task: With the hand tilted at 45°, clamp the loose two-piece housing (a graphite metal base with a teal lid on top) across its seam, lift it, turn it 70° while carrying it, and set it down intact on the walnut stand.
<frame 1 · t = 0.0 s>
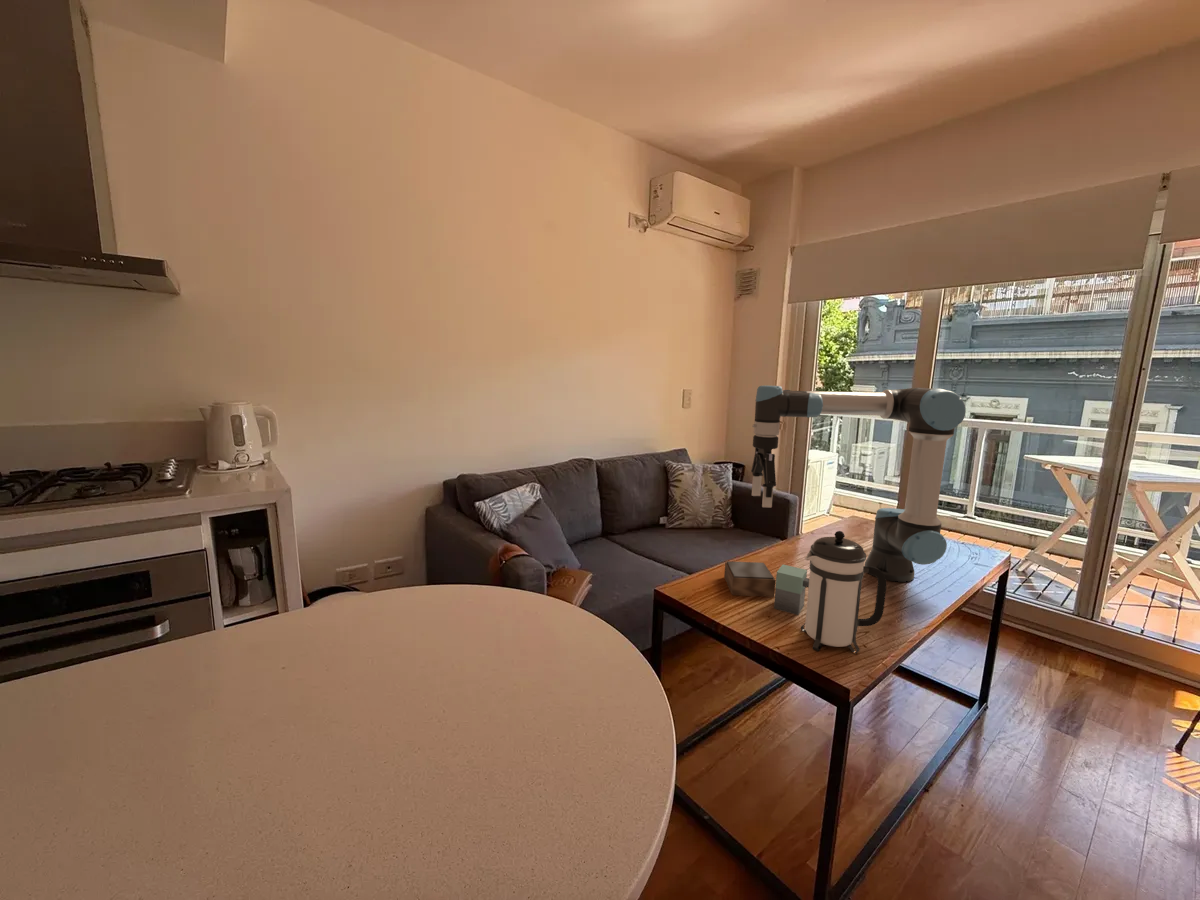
hand: (761, 501, 160), 28 cm above the table, tool pointing down, fingers open, 13 cm apart
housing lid: (790, 586, 148), point 6 cm above the table, touching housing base
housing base: (788, 607, 149), on the table, touching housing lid
walnut stand: (748, 586, 162), on the table
coffee press: (833, 641, 131), on the table
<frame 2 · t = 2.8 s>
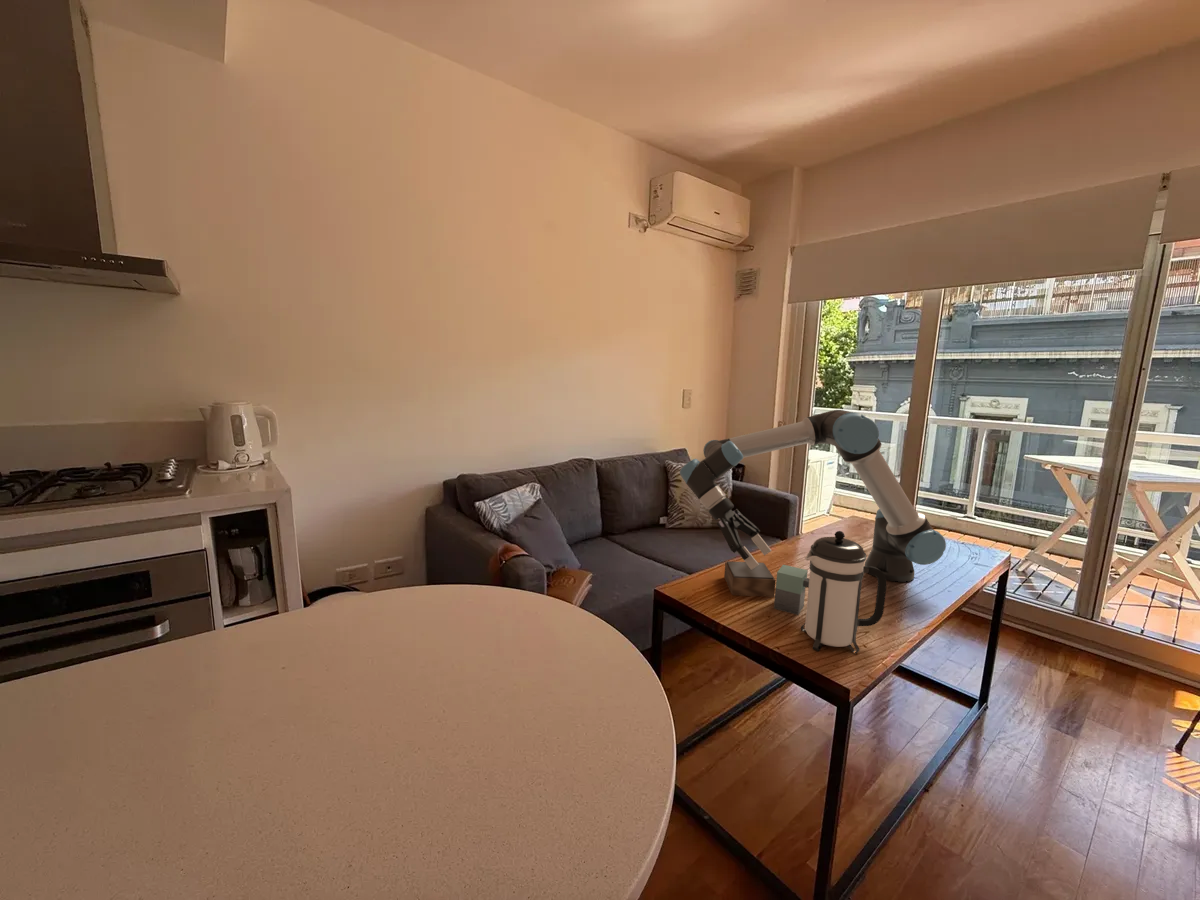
hand: (761, 559, 151), 13 cm above the table, tool tilted 45°, fingers open, 13 cm apart
nothing on the table moved.
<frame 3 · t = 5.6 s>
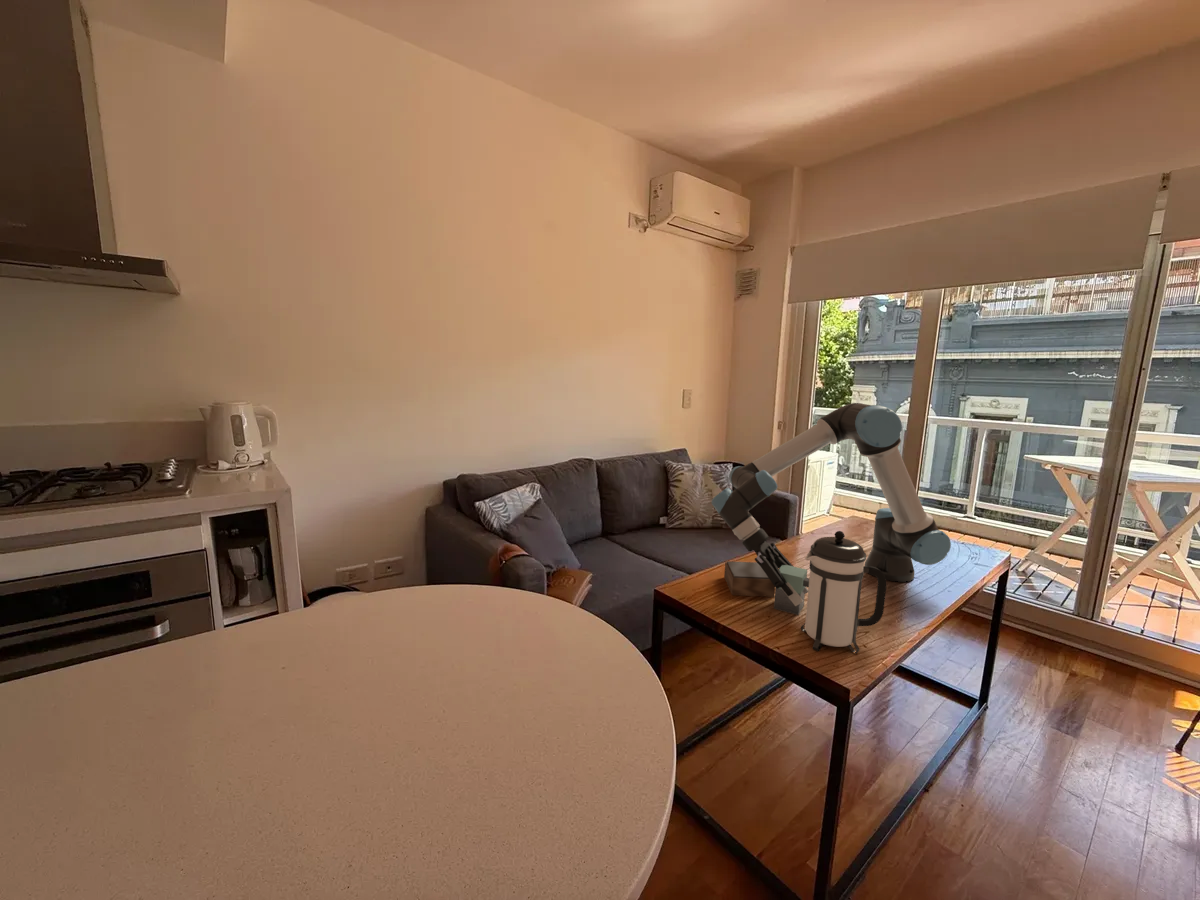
hand: (802, 598, 146), 4 cm above the table, tool tilted 45°, fingers closed on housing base, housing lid, 7 cm apart
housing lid: (790, 586, 148), point 6 cm above the table, touching gripper, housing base
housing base: (788, 607, 149), on the table, touching gripper, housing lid
everything else where it was.
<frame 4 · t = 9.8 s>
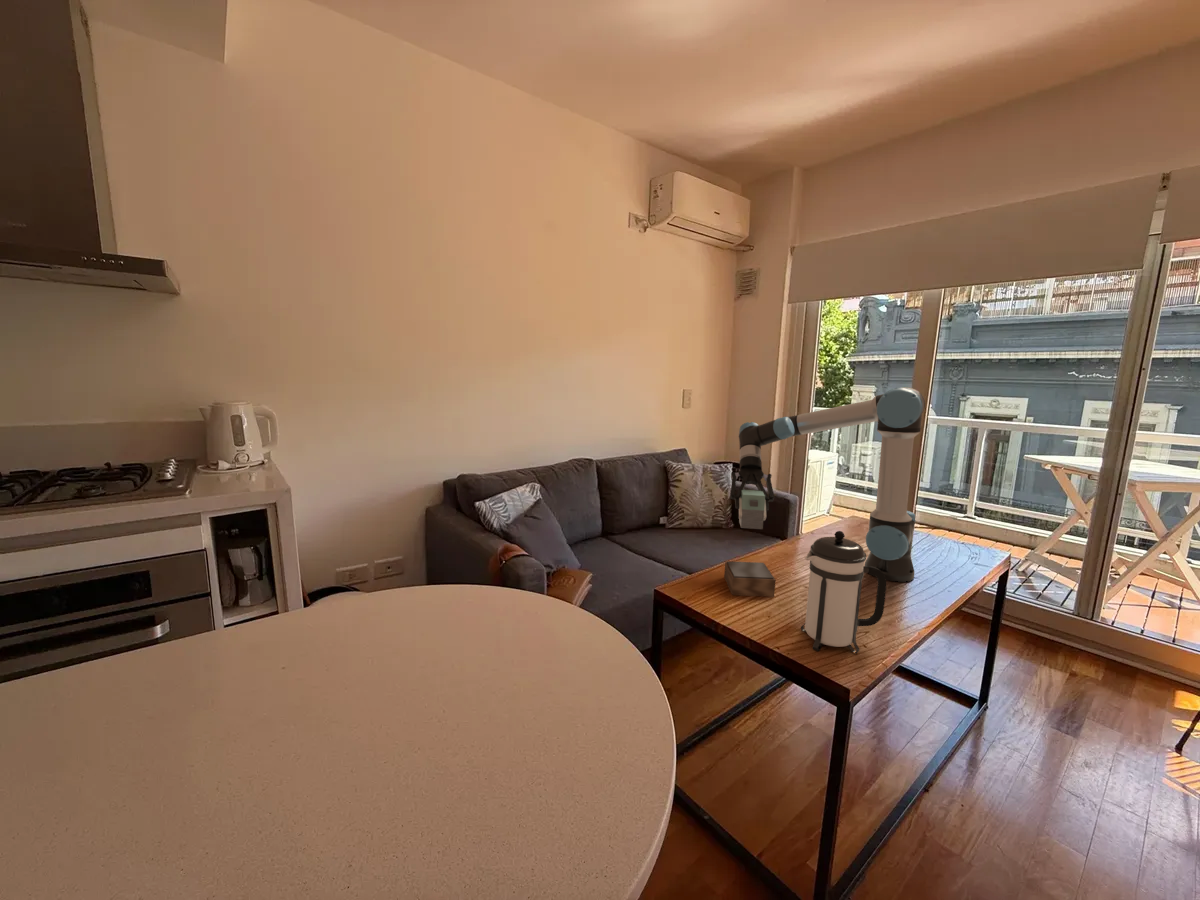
hand: (752, 517, 167), 21 cm above the table, tool tilted 45°, fingers closed on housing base, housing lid, 7 cm apart
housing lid: (751, 506, 169), point 24 cm above the table, touching gripper, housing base
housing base: (750, 525, 171), point 17 cm above the table, touching gripper, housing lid
everything else where it was.
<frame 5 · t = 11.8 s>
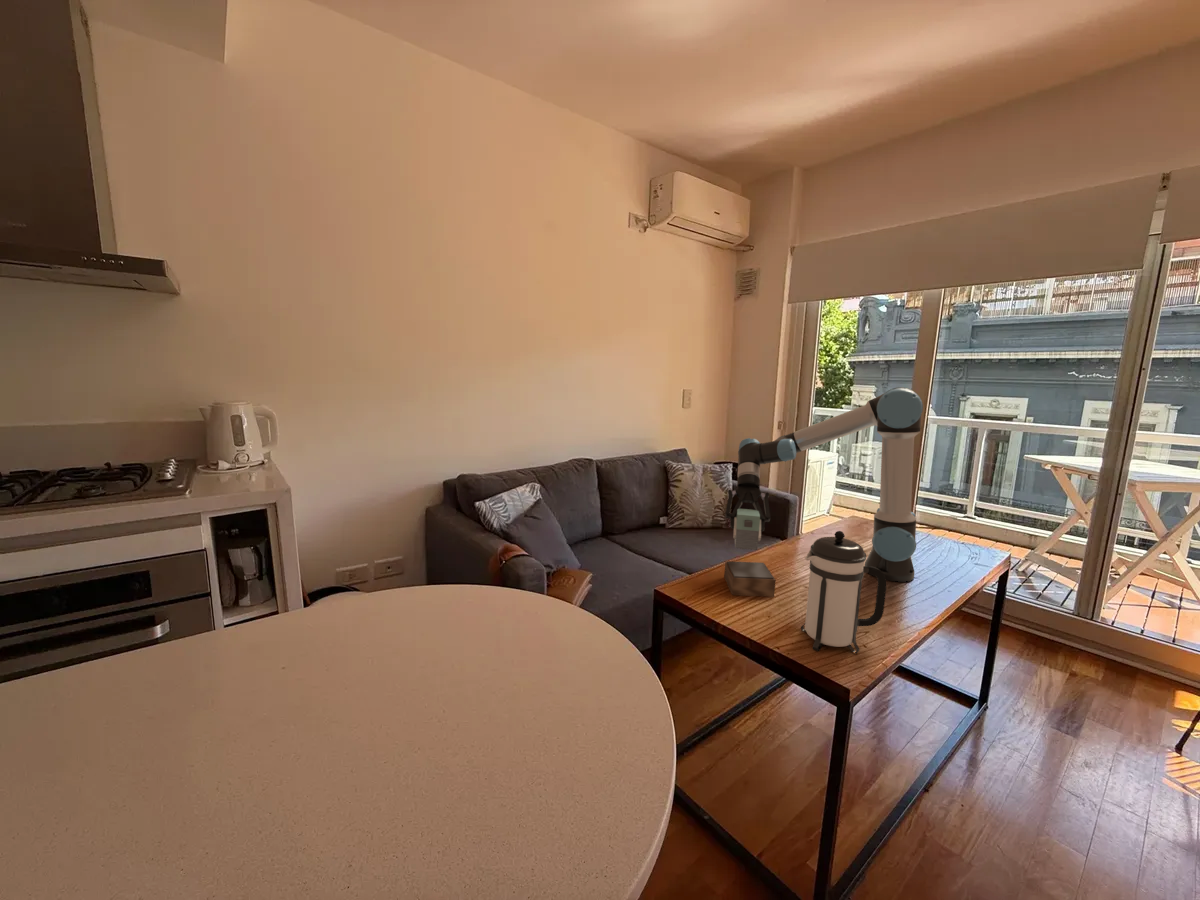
hand: (747, 538, 163), 15 cm above the table, tool tilted 45°, fingers closed on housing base, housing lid, 7 cm apart
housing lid: (747, 526, 166), point 18 cm above the table, touching gripper, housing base
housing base: (745, 545, 167), point 12 cm above the table, touching gripper, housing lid
everything else where it was.
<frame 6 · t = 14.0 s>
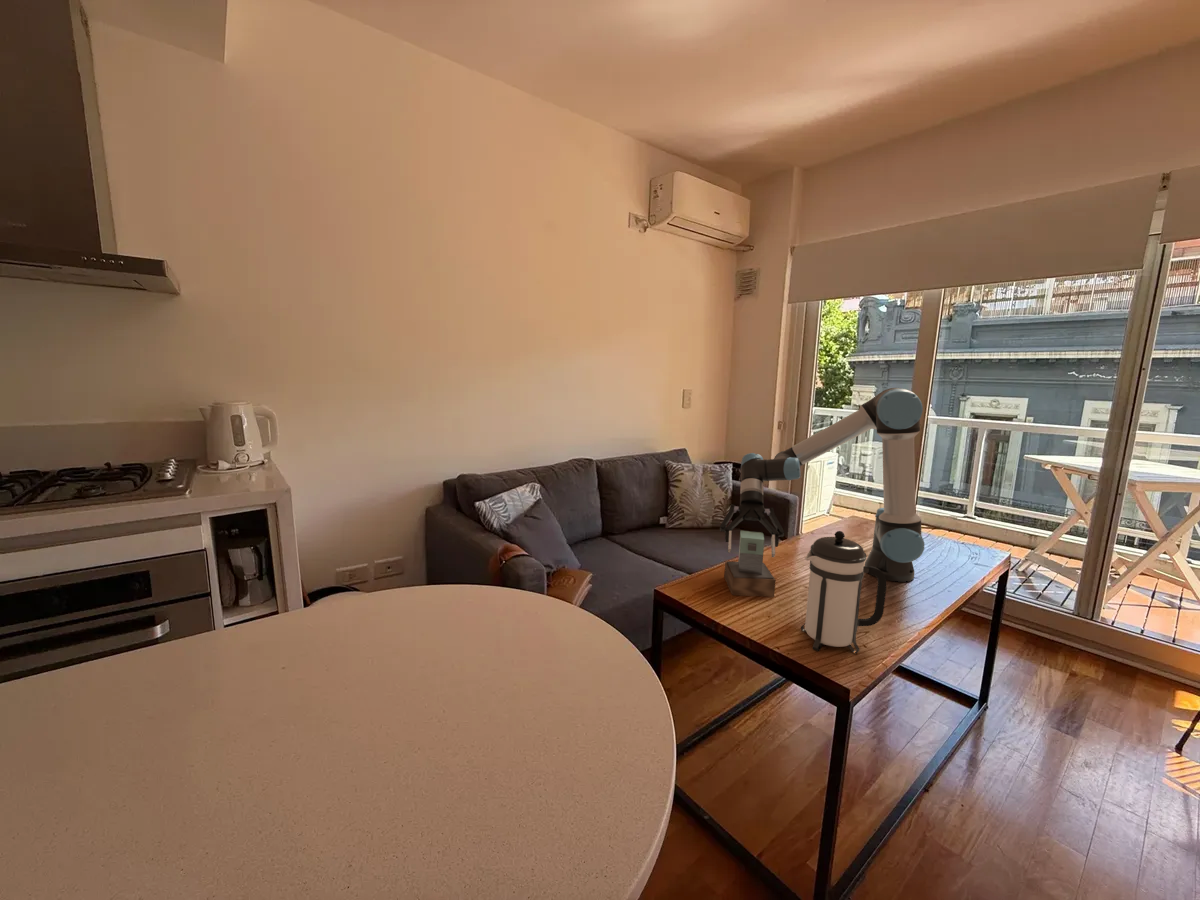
hand: (751, 553, 158), 12 cm above the table, tool tilted 45°, fingers open, 13 cm apart
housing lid: (750, 549, 160), point 12 cm above the table, touching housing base
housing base: (749, 569, 161), point 6 cm above the table, touching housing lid, walnut stand
everything else where it was.
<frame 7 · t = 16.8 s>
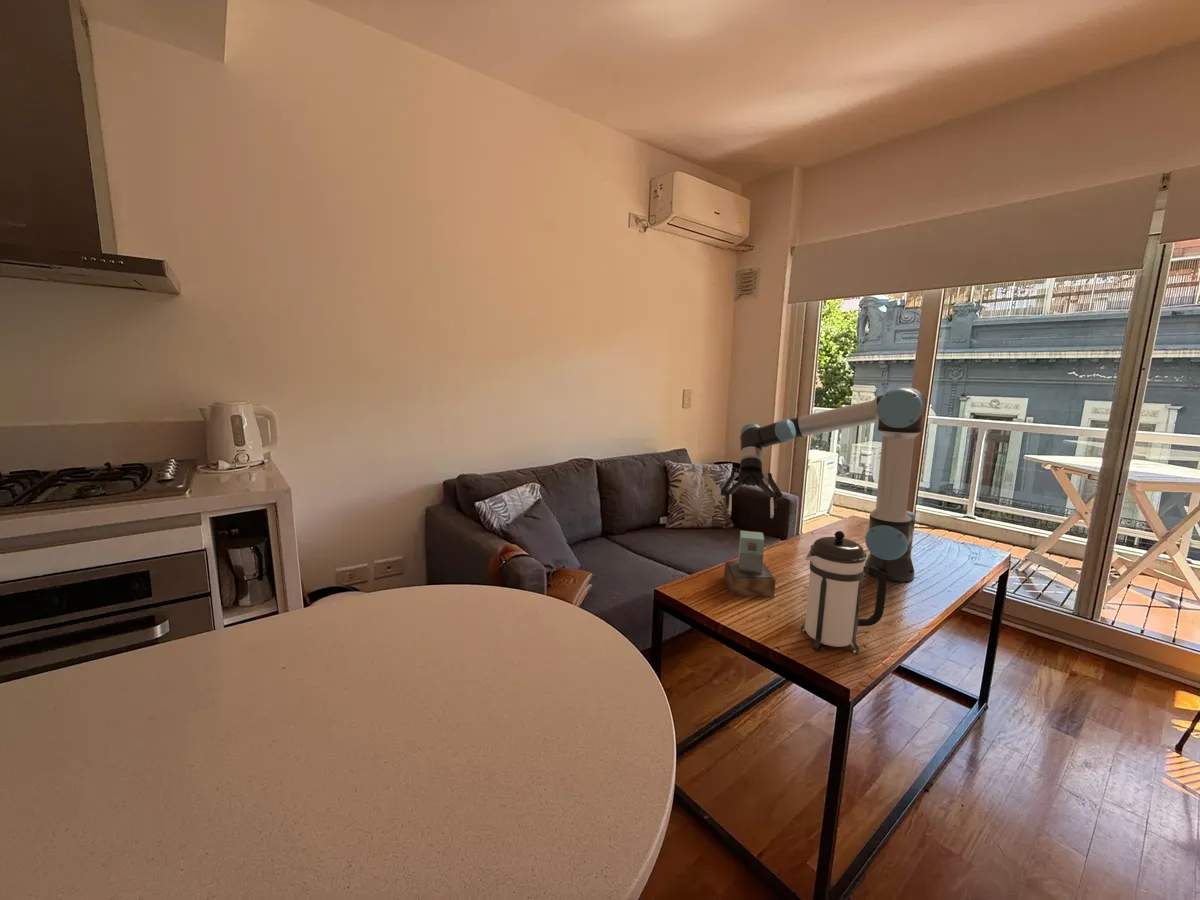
hand: (750, 514, 168), 21 cm above the table, tool tilted 45°, fingers open, 13 cm apart
nothing on the table moved.
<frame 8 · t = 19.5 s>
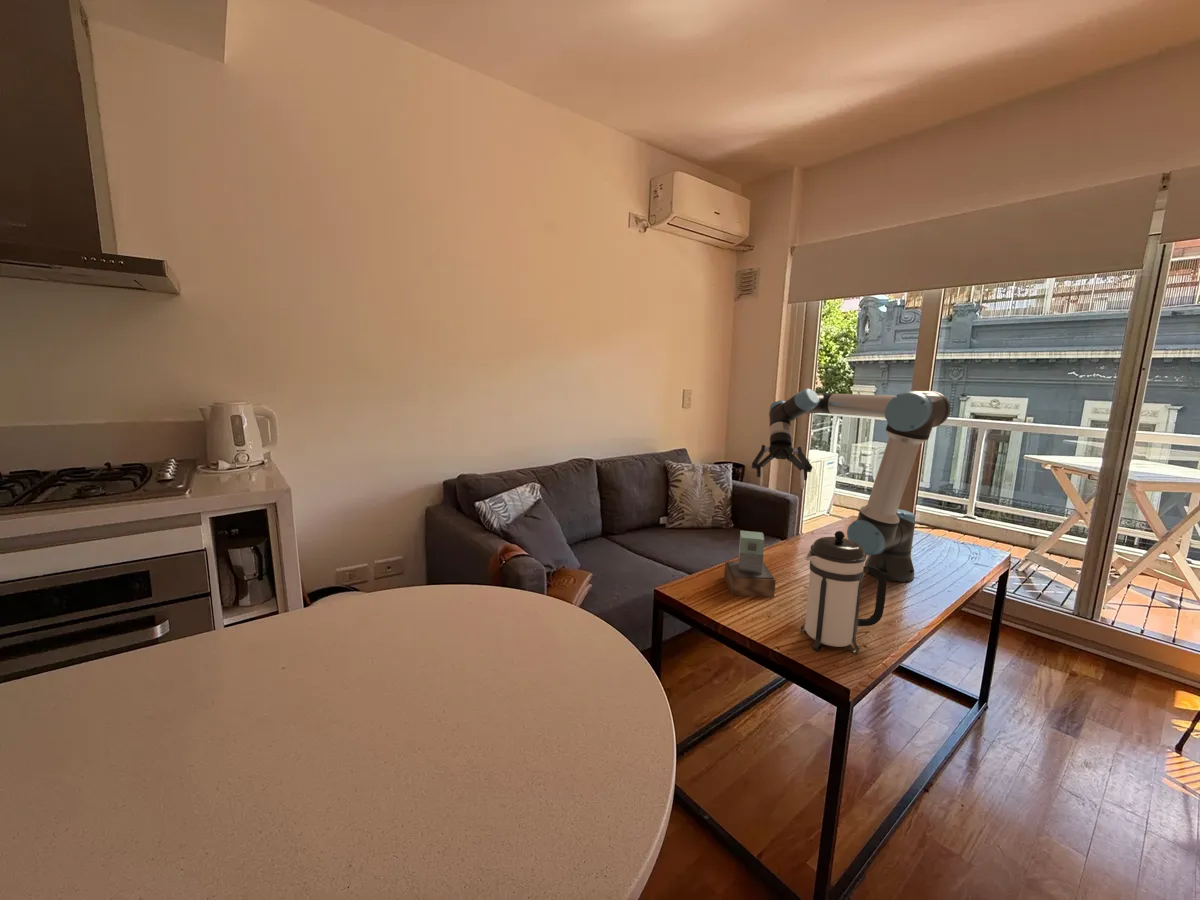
hand: (781, 485, 174), 30 cm above the table, tool tilted 45°, fingers open, 13 cm apart
nothing on the table moved.
at the end: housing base inside the target area on the walnut stand (0.0 cm from its centre), point 6.0 cm above the walnut stand's base; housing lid touching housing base; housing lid tilted 0° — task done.
